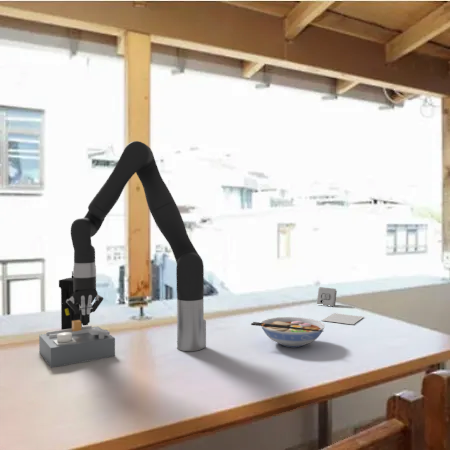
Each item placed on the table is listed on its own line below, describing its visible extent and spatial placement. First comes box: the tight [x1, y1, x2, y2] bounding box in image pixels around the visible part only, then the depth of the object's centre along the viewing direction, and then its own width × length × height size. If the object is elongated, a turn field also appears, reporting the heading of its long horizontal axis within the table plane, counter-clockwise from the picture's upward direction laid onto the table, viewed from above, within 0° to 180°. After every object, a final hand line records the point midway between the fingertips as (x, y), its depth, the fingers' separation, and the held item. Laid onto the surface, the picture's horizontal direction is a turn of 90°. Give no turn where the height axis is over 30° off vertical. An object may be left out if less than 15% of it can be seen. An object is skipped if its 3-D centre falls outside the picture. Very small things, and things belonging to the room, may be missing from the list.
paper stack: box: [321, 312, 364, 325], centre depth 187 cm, size 23×25×1 cm
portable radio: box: [58, 271, 83, 330], centre depth 163 cm, size 8×6×25 cm
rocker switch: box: [88, 328, 111, 336], centre depth 144 cm, size 6×4×1 cm, turn 123°
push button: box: [57, 332, 72, 342], centre depth 138 cm, size 4×4×2 cm
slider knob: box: [72, 320, 81, 331], centre depth 150 cm, size 2×3×4 cm
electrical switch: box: [316, 286, 338, 307], centre depth 225 cm, size 9×5×9 cm, turn 53°
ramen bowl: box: [250, 316, 325, 348], centre depth 155 cm, size 25×23×8 cm
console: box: [38, 325, 116, 369], centre depth 145 cm, size 20×18×8 cm
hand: (85, 324), depth 152 cm, fingers closed
